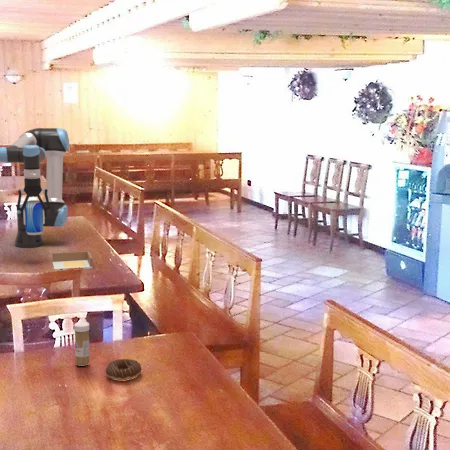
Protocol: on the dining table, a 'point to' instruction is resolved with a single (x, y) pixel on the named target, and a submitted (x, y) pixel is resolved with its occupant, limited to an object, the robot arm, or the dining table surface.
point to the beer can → (34, 217)
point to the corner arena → (72, 260)
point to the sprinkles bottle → (81, 343)
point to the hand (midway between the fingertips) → (34, 223)
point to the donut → (123, 369)
